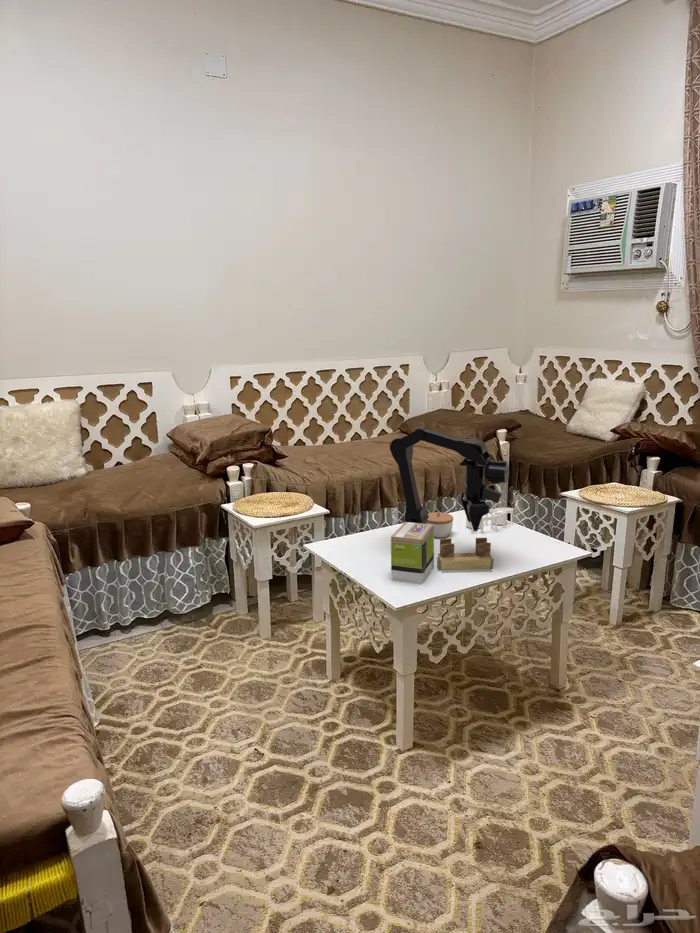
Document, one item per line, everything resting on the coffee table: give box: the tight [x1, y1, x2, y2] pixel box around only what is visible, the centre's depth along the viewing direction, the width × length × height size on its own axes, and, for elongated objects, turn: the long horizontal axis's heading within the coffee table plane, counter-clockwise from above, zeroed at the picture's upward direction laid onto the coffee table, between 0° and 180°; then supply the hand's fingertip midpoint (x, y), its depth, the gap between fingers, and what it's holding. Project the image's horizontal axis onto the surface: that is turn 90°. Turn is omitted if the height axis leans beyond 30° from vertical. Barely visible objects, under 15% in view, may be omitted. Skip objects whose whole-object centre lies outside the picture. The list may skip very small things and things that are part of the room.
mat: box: [440, 569, 493, 574], centre depth 207 cm, size 16×7×1 cm, turn 93°
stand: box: [437, 537, 492, 558], centre depth 215 cm, size 17×6×6 cm, turn 93°
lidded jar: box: [427, 511, 454, 539], centre depth 236 cm, size 11×11×9 cm
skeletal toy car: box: [465, 507, 514, 535], centre depth 243 cm, size 20×11×7 cm, turn 111°
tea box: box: [390, 521, 435, 585], centre depth 202 cm, size 15×10×15 cm
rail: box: [436, 555, 494, 572], centre depth 207 cm, size 17×3×3 cm, turn 93°
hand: (472, 526), depth 211 cm, fingers open, 9 cm apart
